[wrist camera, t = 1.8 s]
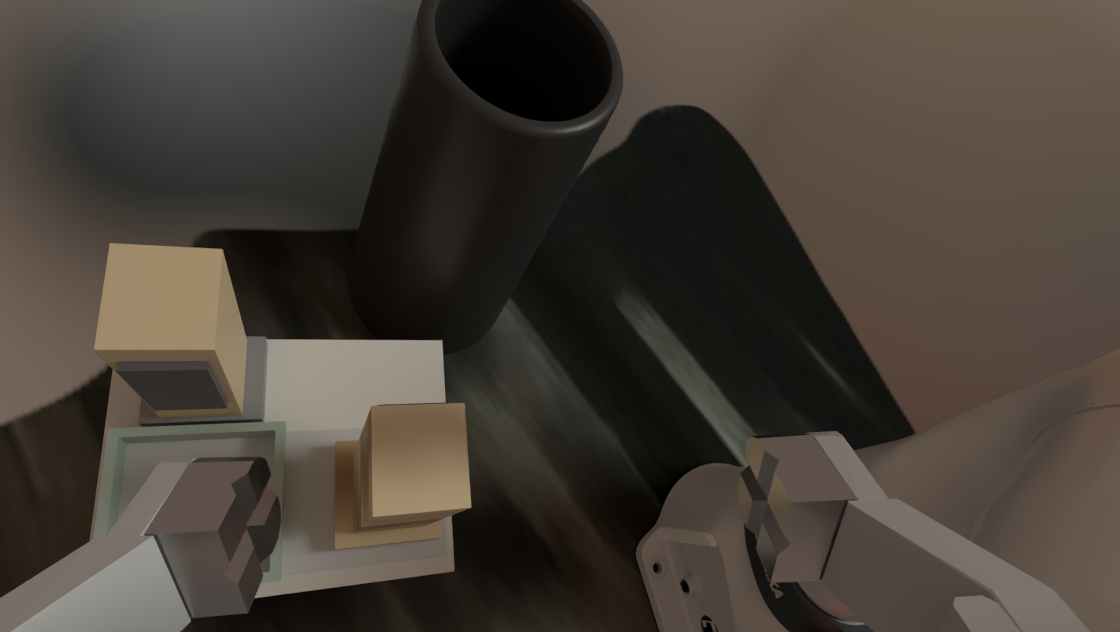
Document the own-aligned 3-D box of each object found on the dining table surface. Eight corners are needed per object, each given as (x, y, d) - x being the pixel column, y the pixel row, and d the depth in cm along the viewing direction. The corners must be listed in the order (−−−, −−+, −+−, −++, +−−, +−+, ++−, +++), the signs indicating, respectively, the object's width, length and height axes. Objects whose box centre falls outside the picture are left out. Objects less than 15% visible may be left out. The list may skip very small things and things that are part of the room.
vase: (486, 212, 60) (612, -45, 35) (516, 345, 56) (684, 162, 31) (337, 218, 54) (362, -83, 29) (360, 366, 50) (411, 163, 25)
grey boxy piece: (427, 571, 47) (522, 571, 26) (128, 610, 40) (-70, 654, 19) (420, 379, 52) (494, 249, 31) (154, 383, 45) (19, 220, 24)
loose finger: (438, 538, 38) (495, 523, 26) (334, 550, 36) (346, 539, 24) (433, 440, 40) (485, 386, 28) (334, 445, 38) (346, 389, 26)
